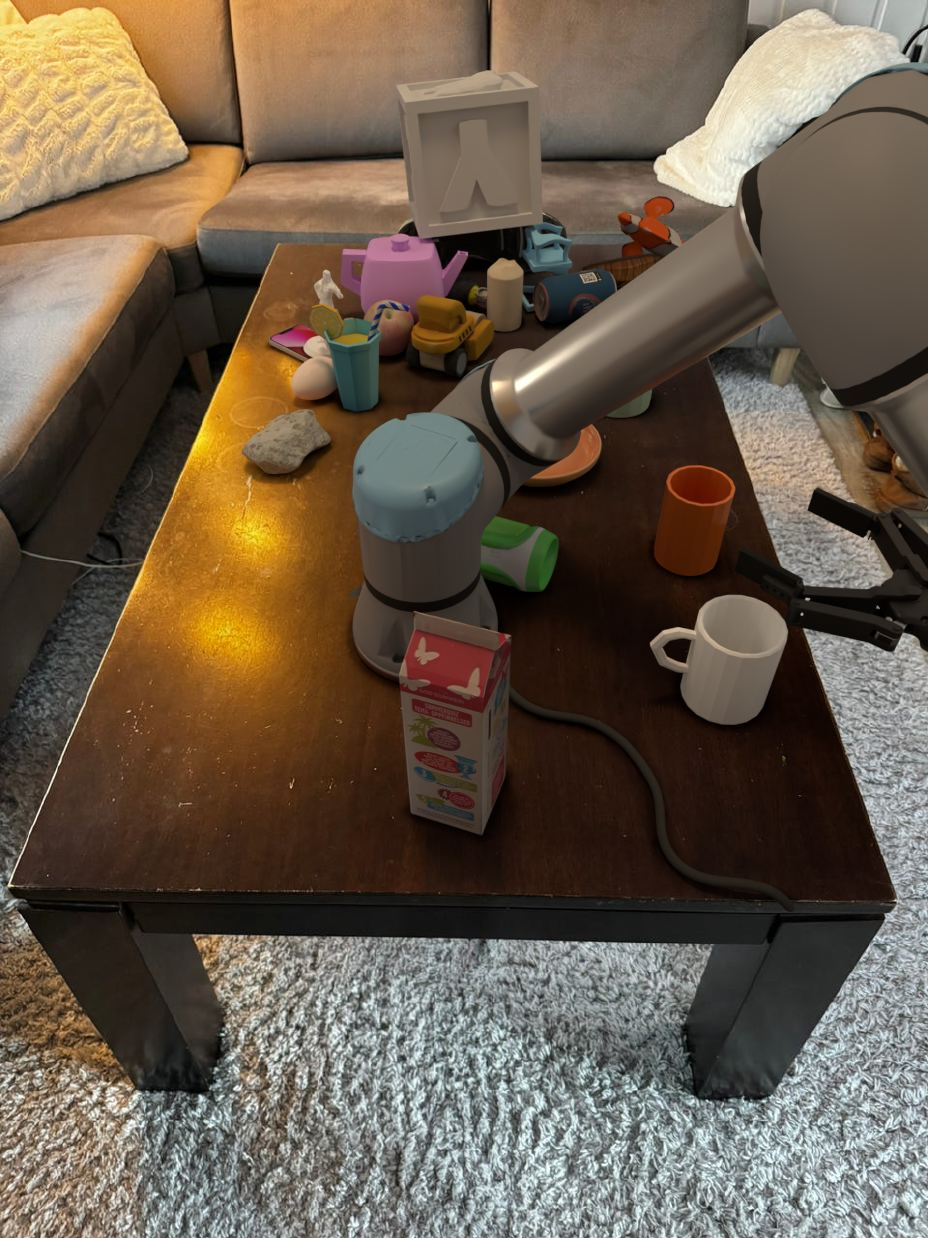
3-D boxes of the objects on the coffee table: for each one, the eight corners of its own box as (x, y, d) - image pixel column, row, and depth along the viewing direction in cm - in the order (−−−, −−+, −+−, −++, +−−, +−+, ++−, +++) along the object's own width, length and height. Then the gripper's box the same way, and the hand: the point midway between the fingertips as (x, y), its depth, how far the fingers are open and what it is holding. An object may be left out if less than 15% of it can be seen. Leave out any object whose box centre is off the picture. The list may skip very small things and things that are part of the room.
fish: (643, 177, 145) (620, 177, 158) (605, 252, 149) (586, 246, 162) (742, 234, 150) (712, 230, 163) (702, 305, 154) (676, 296, 168)
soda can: (612, 322, 145) (543, 334, 143) (595, 291, 148) (528, 303, 145) (623, 288, 139) (552, 300, 136) (605, 257, 142) (535, 268, 139)
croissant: (666, 247, 148) (669, 279, 149) (650, 254, 154) (653, 284, 155) (588, 260, 146) (592, 292, 147) (575, 266, 152) (579, 297, 153)
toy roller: (497, 340, 139) (497, 274, 131) (455, 387, 130) (452, 319, 122) (446, 329, 142) (443, 264, 134) (402, 374, 133) (396, 307, 125)
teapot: (340, 334, 141) (331, 254, 132) (347, 298, 150) (339, 220, 141) (468, 333, 141) (468, 253, 132) (468, 297, 149) (467, 219, 140)
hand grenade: (432, 280, 145) (482, 294, 141) (449, 267, 147) (499, 281, 143) (436, 305, 149) (485, 320, 144) (452, 292, 151) (501, 306, 146)
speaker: (532, 602, 95) (551, 589, 102) (547, 536, 93) (565, 527, 100) (384, 559, 100) (412, 549, 107) (395, 495, 98) (422, 489, 105)
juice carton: (437, 755, 84) (429, 583, 69) (505, 775, 82) (512, 603, 67) (410, 813, 80) (395, 643, 64) (481, 835, 78) (483, 666, 62)
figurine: (293, 346, 134) (293, 266, 126) (328, 334, 139) (330, 256, 131) (326, 365, 132) (328, 284, 124) (361, 351, 136) (365, 273, 128)
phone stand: (576, 306, 147) (582, 232, 138) (527, 312, 146) (530, 237, 137) (561, 285, 152) (566, 213, 144) (514, 291, 151) (516, 218, 142)
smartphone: (333, 372, 131) (265, 338, 138) (334, 378, 132) (266, 344, 139) (369, 354, 135) (301, 322, 142) (369, 360, 136) (302, 327, 143)
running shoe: (570, 212, 148) (570, 192, 157) (394, 202, 149) (403, 182, 158) (563, 281, 155) (563, 258, 164) (395, 270, 156) (404, 248, 165)
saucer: (583, 506, 110) (585, 486, 108) (460, 481, 114) (459, 462, 112) (611, 436, 121) (613, 416, 118) (497, 415, 124) (498, 396, 122)
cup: (417, 388, 130) (412, 288, 119) (411, 418, 124) (406, 315, 114) (321, 385, 131) (308, 285, 120) (312, 415, 125) (297, 313, 114)
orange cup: (729, 565, 103) (748, 494, 95) (676, 583, 100) (691, 512, 93) (693, 528, 107) (709, 458, 100) (641, 545, 105) (654, 475, 98)
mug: (636, 661, 92) (650, 591, 85) (755, 664, 92) (777, 594, 85) (644, 723, 87) (659, 654, 80) (770, 726, 86) (796, 657, 79)
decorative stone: (325, 482, 114) (321, 449, 111) (240, 483, 114) (233, 450, 111) (335, 428, 123) (330, 395, 119) (255, 428, 123) (249, 396, 119)
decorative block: (409, 209, 153) (394, 73, 141) (520, 196, 154) (515, 59, 142) (419, 239, 138) (403, 89, 126) (542, 224, 139) (538, 74, 127)
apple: (397, 375, 136) (381, 337, 129) (362, 356, 139) (344, 318, 132) (430, 339, 137) (416, 300, 130) (395, 321, 141) (379, 282, 134)
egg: (322, 362, 131) (279, 387, 128) (328, 340, 126) (284, 365, 123) (346, 390, 131) (303, 416, 127) (353, 370, 126) (309, 396, 122)
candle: (481, 319, 144) (481, 258, 137) (511, 312, 146) (513, 251, 139) (496, 334, 141) (497, 272, 134) (527, 327, 142) (530, 265, 135)
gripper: (901, 736, 78) (698, 614, 89) (1022, 596, 90) (830, 503, 101) (932, 679, 73) (712, 556, 83) (1056, 538, 85) (849, 447, 95)
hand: (776, 527), depth 92 cm, fingers open, 13 cm apart
